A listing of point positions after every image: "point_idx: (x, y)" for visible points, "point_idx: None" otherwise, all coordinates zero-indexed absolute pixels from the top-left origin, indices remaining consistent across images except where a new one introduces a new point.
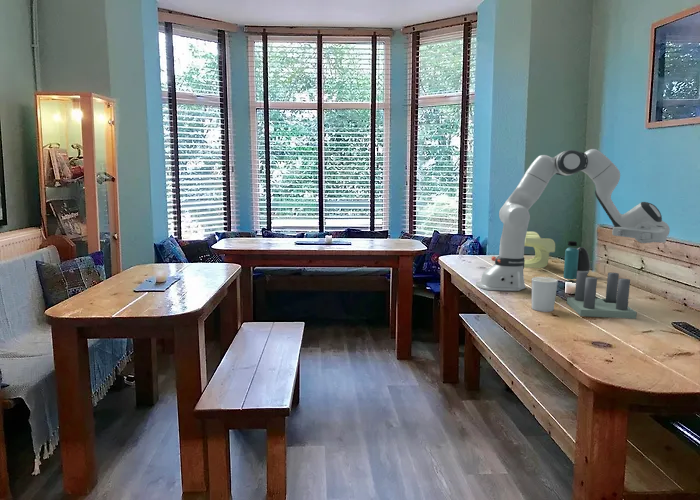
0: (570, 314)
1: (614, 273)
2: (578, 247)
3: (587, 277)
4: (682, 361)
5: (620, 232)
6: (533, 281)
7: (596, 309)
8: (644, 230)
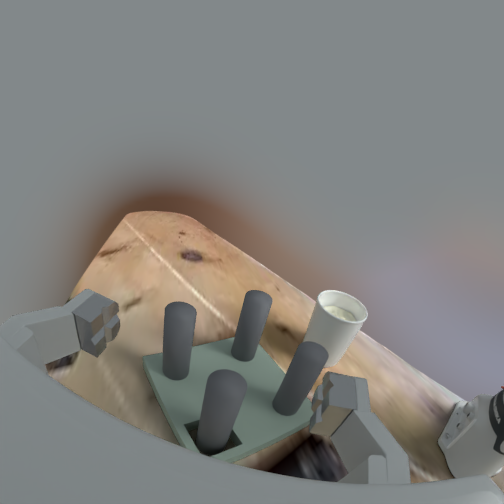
0: (266, 345)
1: (223, 385)
2: None
3: (270, 301)
4: (117, 240)
5: (325, 377)
6: (350, 298)
7: (225, 345)
8: (33, 379)
